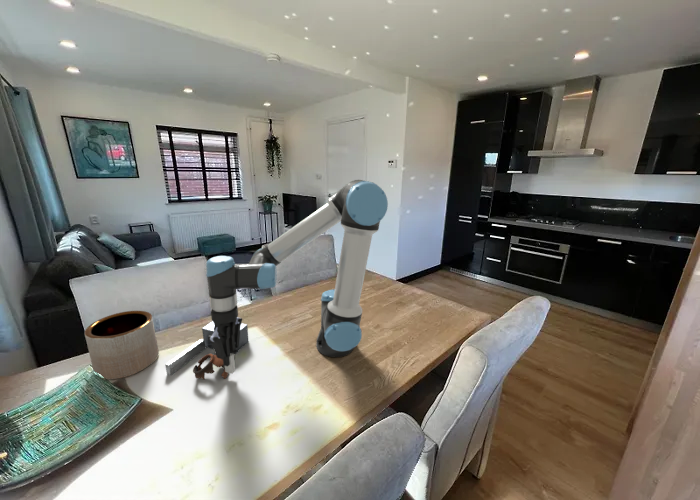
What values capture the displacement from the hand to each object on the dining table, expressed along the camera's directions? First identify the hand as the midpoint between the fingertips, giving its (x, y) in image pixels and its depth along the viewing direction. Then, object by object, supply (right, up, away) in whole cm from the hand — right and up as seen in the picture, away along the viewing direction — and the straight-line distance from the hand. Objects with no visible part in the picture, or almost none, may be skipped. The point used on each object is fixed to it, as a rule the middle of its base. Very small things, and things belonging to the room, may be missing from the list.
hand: (230, 371), depth 92 cm
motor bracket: (-11, +1, +10) cm, 15 cm away
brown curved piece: (-6, -2, +2) cm, 7 cm away
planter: (-37, 0, +5) cm, 38 cm away
